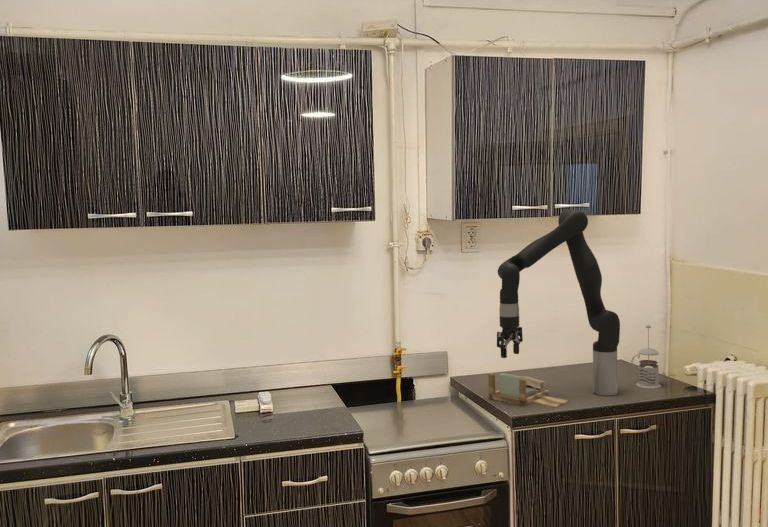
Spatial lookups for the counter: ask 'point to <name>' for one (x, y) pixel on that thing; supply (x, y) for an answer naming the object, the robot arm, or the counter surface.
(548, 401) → the slatted wooden panel
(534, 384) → the birch offcut
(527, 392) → the stone block
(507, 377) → the sage board
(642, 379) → the french press
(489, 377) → the oak rack
